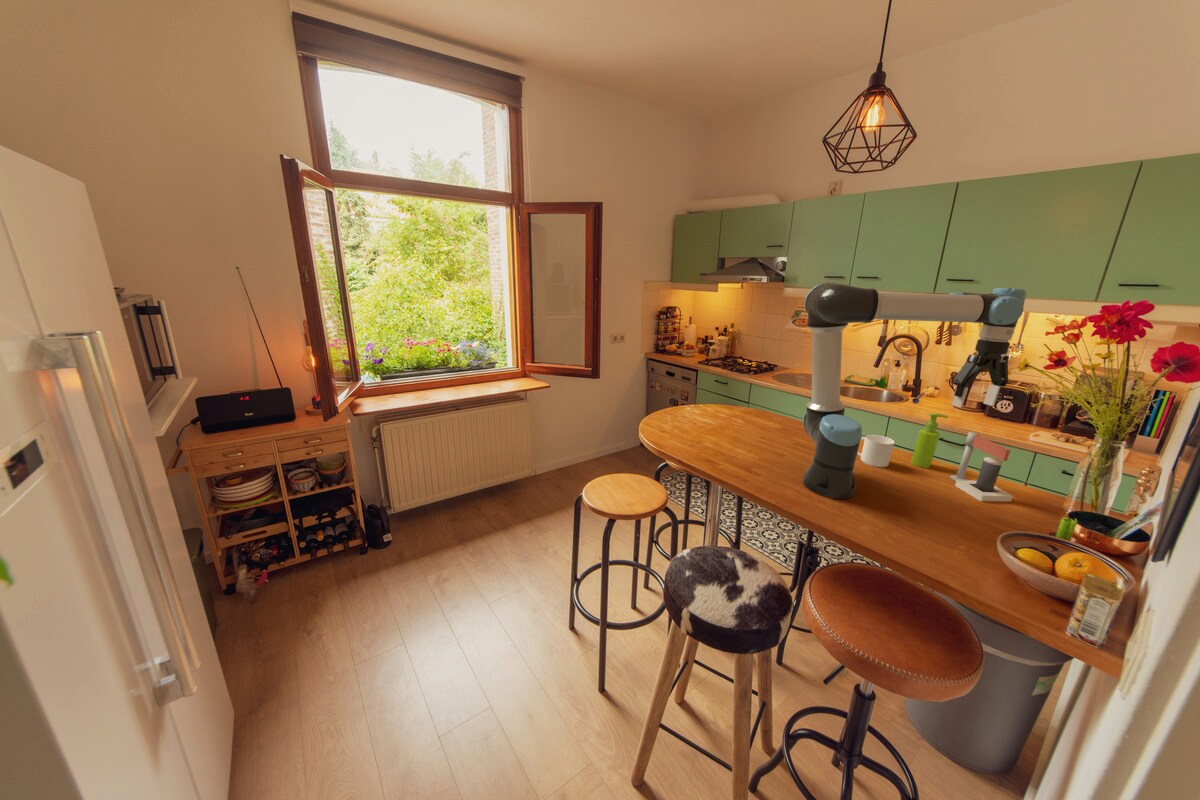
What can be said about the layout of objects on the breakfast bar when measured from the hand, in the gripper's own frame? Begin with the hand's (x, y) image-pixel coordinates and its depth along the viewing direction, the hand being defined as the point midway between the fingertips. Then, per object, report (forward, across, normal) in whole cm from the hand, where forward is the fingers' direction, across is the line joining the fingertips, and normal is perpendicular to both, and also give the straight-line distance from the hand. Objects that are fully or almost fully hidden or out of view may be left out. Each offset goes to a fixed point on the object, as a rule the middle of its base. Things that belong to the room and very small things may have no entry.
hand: (972, 405), depth 138 cm
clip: (+14, +5, -4) cm, 16 cm away
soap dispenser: (+28, +5, +14) cm, 32 cm away
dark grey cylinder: (+28, +5, -8) cm, 29 cm away
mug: (+29, -12, +20) cm, 37 cm away
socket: (+28, +5, -5) cm, 29 cm away
